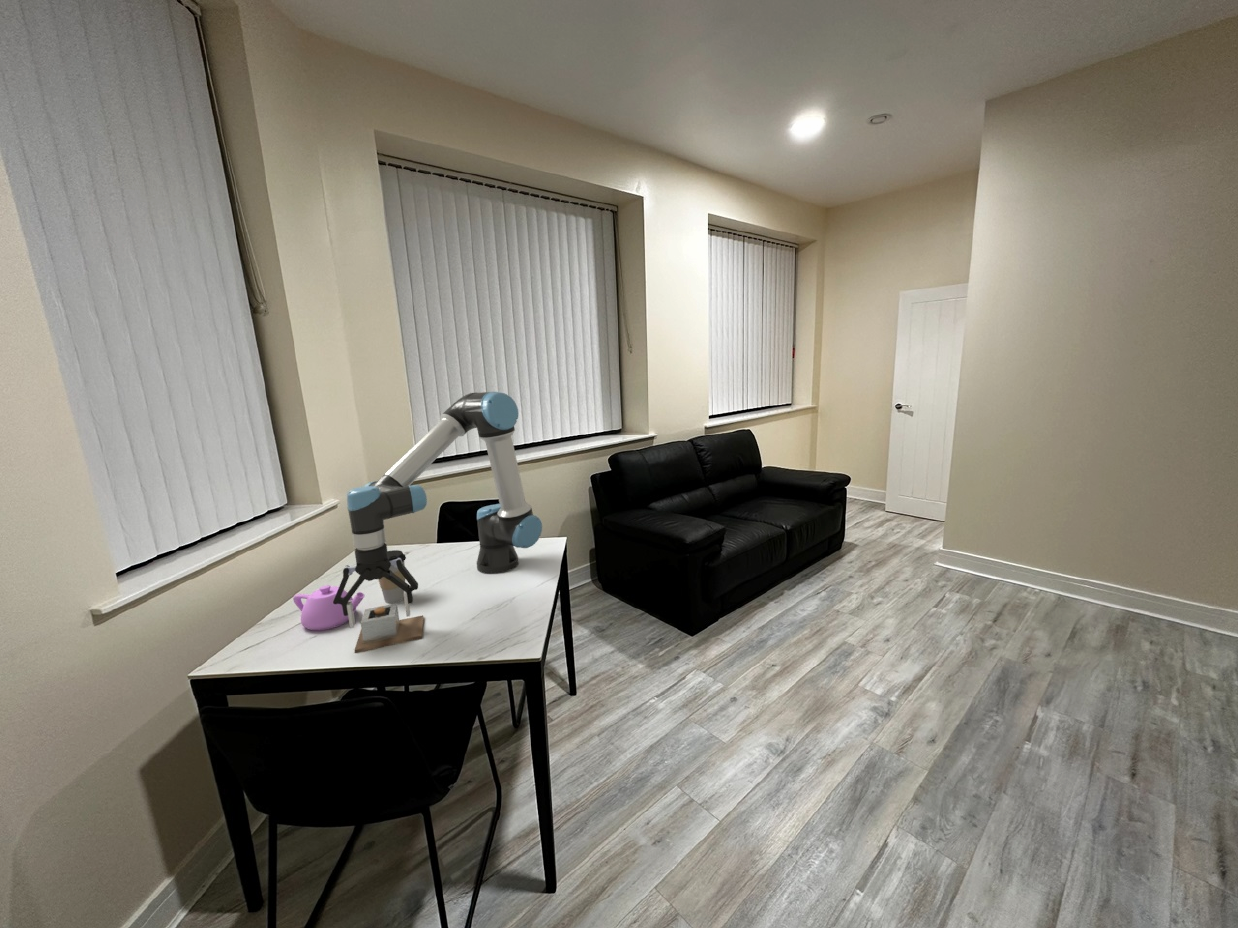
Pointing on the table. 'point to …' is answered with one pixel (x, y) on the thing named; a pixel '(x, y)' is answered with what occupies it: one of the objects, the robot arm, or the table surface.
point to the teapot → (324, 608)
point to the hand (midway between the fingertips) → (381, 619)
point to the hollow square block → (380, 624)
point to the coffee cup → (389, 588)
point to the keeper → (406, 632)
